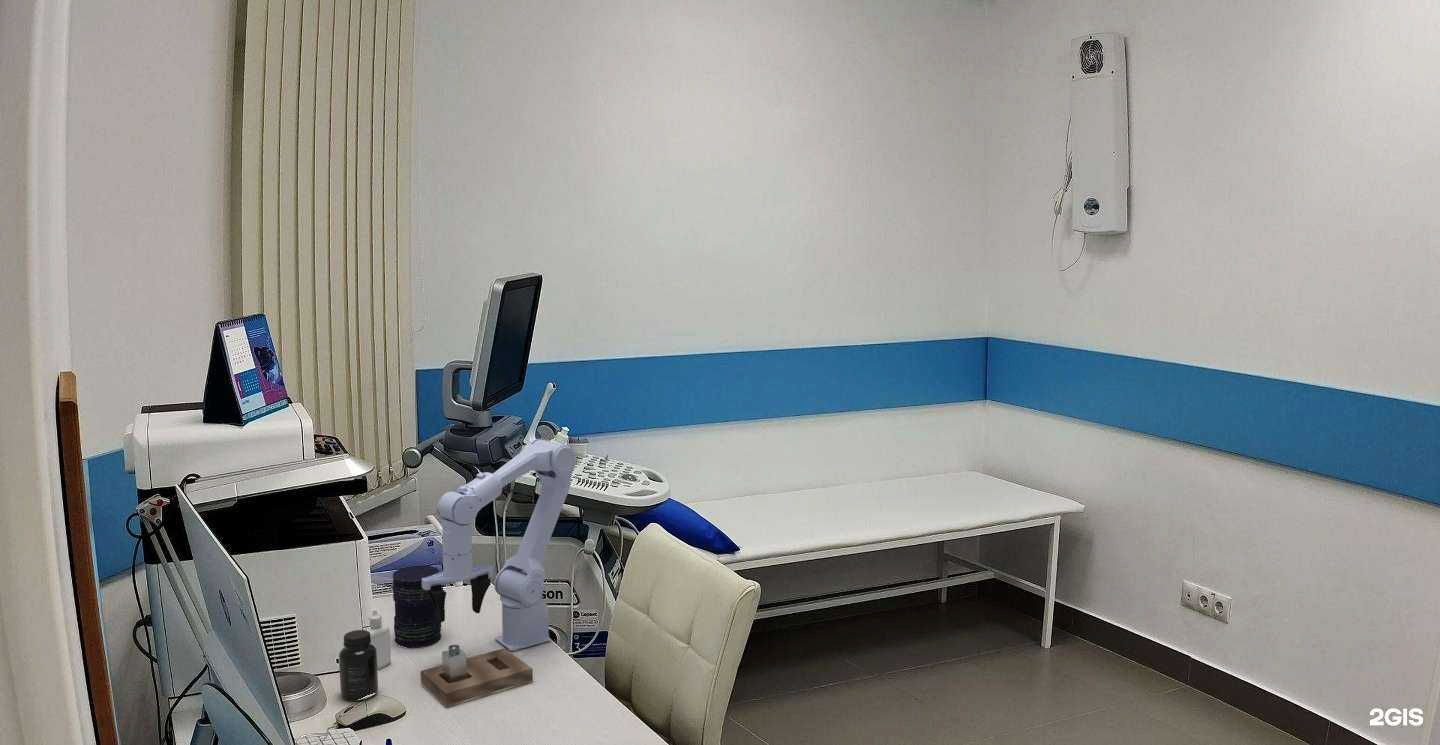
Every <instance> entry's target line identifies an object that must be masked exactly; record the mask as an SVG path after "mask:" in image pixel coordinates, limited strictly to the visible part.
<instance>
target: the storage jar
mask: <svg viewBox="0 0 1440 745" xmlns="http://www.w3.org/2000/svg"><path fill="white" fill-rule="evenodd" d="M440 572H441V571H440V569H439V568H437V567H435V566H431V565H424V564H423V565H419V564H418V565H410V566H406V567H402V568H399V569H397V570H395V571H394V572H393V573H392V580H393V581H392V593H393V594H392V595H393V596H392V599H393V601H394V616H393V631H394V642H396V643H397V644H398V645H400V646H403V647H406V648H405V649H421V648H422V649H423V648H427V647H431V646H433V645H436V644H437V643H439V642H440V641H441V639H442V633H441V632H442V622H440V621H439V620H438V619H437V615H436V611H435V608H434V605H433V602H432V600H431V598H430V596H429V594H428V593H427V591H426V590H425V589H423V588H422V578H425V577H429V576H432V575H434V574H437V573H440ZM439 640H440V641H439ZM438 641H439V642H438ZM396 643H395V644H396ZM435 643H436V644H435ZM398 645H397V646H398ZM400 646H399V647H400ZM403 647H402V648H403Z"/></svg>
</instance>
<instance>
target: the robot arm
mask: <svg viewBox="0 0 1440 745" xmlns="http://www.w3.org/2000/svg"><path fill="white" fill-rule="evenodd" d="M577 462H578V460H577V457H576V455H575V452H574V450H573V448H572V447H571V446H570V445H568V444H565V443H564V444H562V443H558V442H554V441H549V440H545V439H543V438H535V439H533V440H531V442H529V443H527V444H525V445H523V449H522V451H521V452H519V453H518V454H517V455H515V456H514V457H513V458H512V459H510V460H509V461H507V462H506V463H505V464H503V465H502V466H501V467H499V468H498V469H497V470H496V471H494V472H493V473H492V472H487V471H485V472H479V473H477V474H475V475H476V477H475V478H474V479H473V480H471V481H469V482H468V483H466V484H465V485H461V486H459V487H458V489H457V490H455V491H448V492H446V493H444V494H443V495H442V496H441V497H440V498H439V500H438V503H437V506H435V513H436V515H437V516H438V518H439V519H440V526H442V527H441V528H442V530H441V531H442V571H439V572H440V573H437V574H434V575H432V576H429V577H425V578H422V588H423V589H425V590H426V591H427V593H428V594H429V596H430V598H431V600H432V602H433V605H434V608H435V611H436V615H437V619H438V620H439V621H440V622H441V623H443V622H445V620H446V610H445V608H446V607H445V606H446V604H445V603H446V596H447V592H446V591H445V590H444V588H443V587H442V586H445V585H450V584H455V583H459V582H460V583H461V582H465V581H469V583H470V587H471V588H470V589H471V606H472V607H471V608H472V611H473V613H475V614H480V613H481V609H482V605H483V602H484V599H485V596H486V593H487V591H488V589H489V587H490V586H491V584H492V583H491V582H492V581H491V578H490V577H494V567H493V565H490V564H484V565H474V566H473V532H472V531H473V526H472V522H474V521H475V519H476V518H477V517H478V516H477V515H478V513H479V511H481V509H482V508H484V507H485V506H487V505H488V504H490V503H491V502H493V501H494V500H495V499H497V498H498V497H500V496H501V494H502V491H503V488H504V487H505V486H507V485H508V484H510V483H513V482H514V481H515V480H517V479H519V478H521V477H522V476H524V475H526V474H527V473H529V472H531V471H534V472H535V474H537V476H538V477H539V478H540V481H541V483H542V484H541V485H542V486H543V487H542V489H541V491H540V494H539V496H538V499H537V501H536V504H535V506H534V509H533V512H532V515H531V517H530V520H529V521H528V525H527V527H526V530H525V532H524V534H523V538H522V540H521V541H520V545H519V546H518V547H519V548H518V550H517V553H516V554H514V555H513V556H511V557H510V558H508V559H507V560H505V562H504V565H503V567H502V568H501V570H500V571H499V572H498V573H497V574H496V575H495V576H496V577H495V578H494V584H493V586H494V591H495V592H496V593H497V594H498V595H499V601H501V616H502V618H501V622H502V623H501V624H502V631H501V632H502V635H499V636H495V637H494V640H495V641H496V642H498V643H499V644H500V645H502V646H504V647H505V649H507V650H508V651H509V652H514V651H518V650H522V649H526V648H529V647H532V646H537V645H539V644H543V643H548V642H550V641H551V638H550V636H549V634H550V632H549V629H550V628H549V622H550V620H549V608H548V605H547V602H546V600H545V599H544V598H543V597H542V596H543V593H544V584H545V583H544V582H545V578H546V577H547V576H546V575H547V573H546V571H545V569H544V567H543V565H542V560H543V558H544V555H545V552H546V550H547V547H548V545H549V543H550V540H551V537H552V535H553V532H554V529H555V527H556V524H557V522H558V519H559V517H560V513H561V512H562V509H563V506H564V504H565V502H566V498H567V496H568V494H569V491H570V488H571V482H572V475H573V473H574V470H575V467H576V465H577ZM523 571H525V572H526V573H525V572H523Z"/></svg>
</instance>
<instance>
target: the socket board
mask: <svg viewBox="0 0 1440 745" xmlns="http://www.w3.org/2000/svg"><path fill="white" fill-rule="evenodd" d="M466 660H467V679H464V680H460V681H456V682H453V683H449V684H448V683H447V682H446V681H445V680H444V679H443V668H442V664H441V665H437V666H433V667H430V668H427V669H422V670H420V684H421V686H422V687H423V688H425V689H426V690H427V692H429V693H430V694H431V695H432V696H433V697H434V698H435V699H436V700H438V701H439V703H441V704H442V705H443V706H444V707H445V708H447V709H448V708H449V707H454V706H457V705H460V704H463V703H466V702H467V703H468V702H469V701H473V700H477V699H480V698H483V697H487V696H489V695H493V694H497V693H500V692H504V691H507V690H510V689H514V688H517V687H520V686H524V685H527V684H526V683H528V684H530V682H531V683H533V682H532V681H534V677H533V676H534V675H533V674H534V669H533V667H531V665H530V666H529V665H528V664H527V663H526V662H525V661H523V660H522V659H520V658H519V657H517V656H516V655H515V654H513V653H512V651H510V650H509V649H507V648H506V647H505V648H501V649H496V650H493V651H489V652H485V653H481V654H478V655H473V656H470V657H466Z"/></svg>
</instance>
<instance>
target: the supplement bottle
mask: <svg viewBox="0 0 1440 745" xmlns="http://www.w3.org/2000/svg"><path fill="white" fill-rule="evenodd" d="M370 643H371V639H370V632H369V631H367V630H366V629H356V630H355V629H354V630H352V631H348V632H347V633H345V634H344V635H343V647H342V649H341V650H340V651H339V654H338V661H339V662H338V664H339V665H338V667H339V668H338V669H339V683H340V684H339V688H340V696H341V698H343V700H345V701H349V702H357V701H356V700H358V699H361V698H363V697H365V696H367V695H370V694H373V693H376V694H377V693H378V690H379V676H378V670H377V651H376V648H375V647H374V646H373V645H372V644H370Z"/></svg>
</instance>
